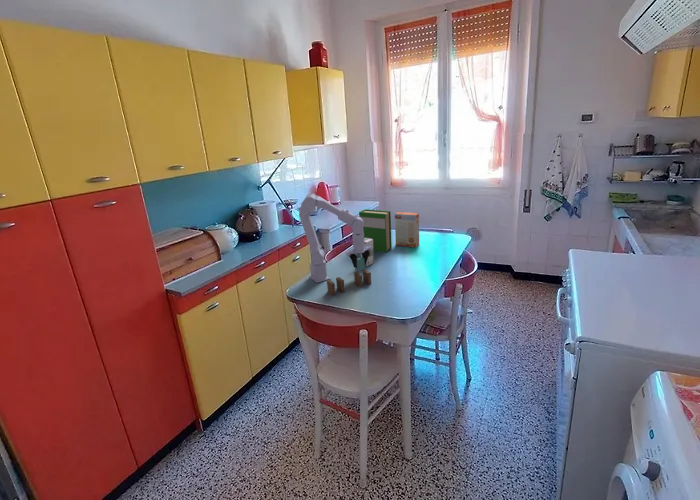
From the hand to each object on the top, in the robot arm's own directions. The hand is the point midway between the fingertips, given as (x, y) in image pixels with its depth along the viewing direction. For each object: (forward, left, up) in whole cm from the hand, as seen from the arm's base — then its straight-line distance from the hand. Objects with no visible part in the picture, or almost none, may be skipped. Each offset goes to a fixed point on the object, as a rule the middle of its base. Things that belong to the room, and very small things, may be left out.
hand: (359, 266), depth 188 cm
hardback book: (-31, +30, -6) cm, 44 cm away
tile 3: (+8, -6, -6) cm, 12 cm away
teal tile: (0, 0, -2) cm, 2 cm away
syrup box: (-13, +12, -6) cm, 19 cm away
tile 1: (+8, -21, -6) cm, 23 cm away
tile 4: (+8, -1, -6) cm, 10 cm away
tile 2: (+8, -16, -6) cm, 19 cm away
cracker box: (-24, +49, -6) cm, 55 cm away
